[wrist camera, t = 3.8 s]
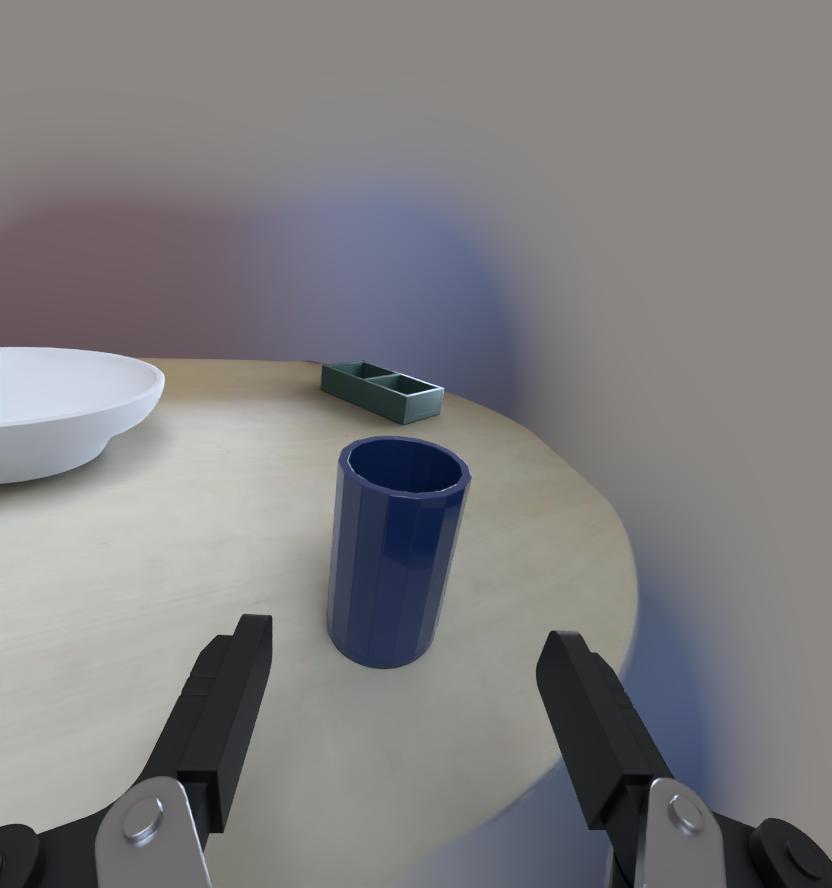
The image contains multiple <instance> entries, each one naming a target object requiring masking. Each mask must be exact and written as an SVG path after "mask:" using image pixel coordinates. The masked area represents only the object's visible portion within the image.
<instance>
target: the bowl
mask: <svg viewBox="0 0 832 888" xmlns="http://www.w3.org/2000/svg"><path fill="white" fill-rule="evenodd" d="M164 381H165V379H164V374H163V373H162V372H161V371H160V370H159V369H158V368H156V367H155V366H153V365H151V364H149V363H146V362H143V361H140V360H137V359H134V358H130V357H125V356H121V355H116V354H109V353H102V352H96V351H86V350H76V349H60V348H38V347H0V484H3V483H12V482H21V481H27V480H33V479H38V478H43V477H47V476H51V475H55V474H59V473H62V472H65V471H68V470H71V469H74V468H76V467H79V466H81V465H83V464H85V463H87V462H89V461H91V460H93V459H94V458H95V457H97V456H98V455H99V454H100V453H101V452H102V450H103V449H104V448H105V446H106V445H107V443H108V441H109V440H110V438H111V437H113V436H116V435H118V434H121V433H123V432H125V431H127V430H129V429H130V428H132V427H134V426H136V425H137V424H139V423H140V422H141V421H143V420H144V419H145V418H146V417H147V416H148V414H149V413H150V412H151V411H152V409H153V408H154V407H155V405H156V404H157V402H158V400H159V399H160V396H161V394H162V391H163V388H164Z"/></svg>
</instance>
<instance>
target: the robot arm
mask: <svg viewBox="0 0 832 888" xmlns="http://www.w3.org/2000/svg"><path fill="white" fill-rule="evenodd" d="M271 662H272V616H271V615H255V614H243V615H242V616H241V618H240V620H239V622H238V625H237V627H236V629H235V632H234V634H233V636H231V635H217V636H216V637H215V638H214V639H213V640H212V641H211V642H210V643H209V644H208V645H207V646H206V647H205V648H204V649H203V650H202V651H201V652H200V654H199V656H198V658H197V660H196V663H195V665H194V667H193V669H192V671H191V673H190V677H189V678H188V679H187V681H186V683H185V685H184V687H183V689H182V693H181V695H180V696H179V698H178V700H177V702H176V704H175V706H174V708H173V710H172V712H171V714H170V716H169V718H168V720H167V722H166V724H165V727H164V729H163V731H162V733H161V735H160V737H159V739H158V741H157V743H156V745H155V747H154V749H153V751H152V753H151V755H150V757H149V760H148V762H147V764H146V766H145V767H144V769H143V771H142V773H141V774H140V776H139V777H138V778H137V780H136V781H135V782H134V783H133V785H132V786H131V787H130V788H129V789H128V790H127V791H126V792H125V793H124V794H123V795H122V796H121V797H119V798H118V799H117V800H116V801H115V802H113V803H112V804H110V805H109V806H107V807H106V808H104V809H102V810H100V811H99V812H97V813H95V814H92V815H90V816H88V817H85V818H82V819H79V820H76V821H74V822H71V823H68V824H65V825H62V826H59V827H57V828H54V829H51V830H48V831H45V832H42V833H40V834H37V835H36V833H35V832H34V830H33V829H32V828H30V827H28V826H26V825H23V824H10V825H5V826H1V827H0V888H212V885H211V882H210V878H209V874H208V871H207V867H206V864H205V860H204V856H203V852H204V849H205V846H206V843H207V839H208V836H209V833H224V829H225V826H226V822H227V819H228V815H229V812H230V808H231V805H232V802H233V798H234V795H235V791H236V788H237V784H238V781H239V777H240V774H241V770H242V767H243V763H244V760H245V757H246V753H247V750H248V746H249V743H250V739H251V736H252V732H253V729H254V725H255V722H256V719H257V715H258V712H259V708H260V705H261V701H262V698H263V694H264V691H265V687H266V684H267V681H268V677H269V673H270V668H271ZM536 680H537V685H538V689H539V692H540V695H541V697H542V700H543V703H544V706H545V709H546V711H547V714H548V717H549V720H550V722H551V725H552V728H553V731H554V734H555V736H556V739H557V742H558V745H559V748H560V750H561V753H562V756H563V759H564V762H565V764H566V767H567V770H568V773H569V775H570V778H571V781H572V784H573V787H574V789H575V792H576V795H577V798H578V800H579V803H580V806H581V809H582V812H583V815H584V817H585V820H586V823H587V826H588V828H589V830H606V831H607V834H608V836H609V839H610V841H611V844H610V847H609V849H608V855H607V862H606V868H605V875H604V883H603V888H832V861H831V860H830V859H829V858H828V856H827V855H826V854H825V853H824V852H823V850H822V849H821V848H820V847H819V846H818V845H817V844H816V843H815V842H814V841H813V840H812V839H811V838H810V837H808V836H807V835H806V834H805V833H803V832H802V831H801V830H799V829H798V828H796V827H795V826H793V825H791V824H790V823H787V822H786V821H783V820H780V819H775V818H768V819H766V820H764V821H763V822H762V823H761V824H760V825H759V826H758V827H757V828H753V827H751V826H749V825H746V824H743V823H741V822H738V821H735V820H733V819H730V818H728V817H725V816H723V815H720V814H717V813H715V812H713V811H711V810H710V809H709V807H708V806H707V805H706V803H705V802H704V801H703V800H702V799H701V798H700V797H699V796H698V795H697V794H696V793H695V792H694V791H693V790H692V789H690V788H689V787H687V786H686V785H685V784H683V783H681V782H679V781H677V780H676V779H675V778H674V777H673V775H672V774H671V772H670V771H669V768H668V767H667V765H666V763H665V761H664V760H663V758H662V756H661V754H660V753H659V751H658V749H657V747H656V745H655V744H654V742H653V740H652V739H651V736H650V735H649V733H648V731H647V729H646V727H645V726H644V724H643V722H642V721H641V719H640V717H639V715H638V713H637V712H636V710H635V709H633V704H632V703H631V701H630V699H629V697H628V696H627V694H626V693H625V692H624V688H623V686H622V685H621V683H620V681H619V679H618V678H617V676H616V674H615V672H614V670H613V669H612V668H611V667H610V666H609V665H608V664H607V663H606V662H605V661H604V659H603V658H602V657H601V656H600V655H599V654H598V653H593V652H590V650H589V649H588V647H587V645H586V643H585V641H584V639H583V637H582V636H581V635H580V634H579V633H578V632H571V631H551V632H550V633H549V635H548V637H547V640H546V643H545V645H544V648H543V650H542V653H541V655H540V658H539V660H538V663H537V667H536Z"/></svg>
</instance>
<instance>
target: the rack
mask: <svg viewBox="0 0 832 888" xmlns="http://www.w3.org/2000/svg"><path fill="white" fill-rule="evenodd" d="M321 390H323V391H325V392H327V393H330V394H332V395H334V396H337V397H339V398H341V399H344V400H346V401H348V402H351V403H353V404H355V405H358V406H360V407H362V408H365V409H367V410H369V411H372V412H374V413H376V414H379V415H381V416H383V417H386V418H388V419H390V420H393V421H395V422H397V423H400V424H402V425H405V424H408V423H411V422H415V421H418V420H421V419H424V418H427V417H430V416H434V415H437V414H440V410H441V405H442V399H443V394H444V388H442V387H439V386H436V385H433V384H430V383H427V382H424V381H421V380H418V379H415V378H412V377H409V376H406V375H404V374H400V373H397V372H395V371H392V370H389V369H386V368H383V367H380V366H377V365H374V364H371V363H368V362H365V361H356V362H346V363H337V364H327V365H322V380H321Z"/></svg>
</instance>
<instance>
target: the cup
mask: <svg viewBox="0 0 832 888" xmlns="http://www.w3.org/2000/svg"><path fill="white" fill-rule="evenodd" d="M471 478H472V476H471V473H470V470H469V466H468V464H467V463H466V462H464V461H463V460H462V459H461V458H460V457H459V456H458V455H457V454H456V453H454V452H452V451H450V450H448V449H446V448H444V447H442V446H440V445H437V444H434V443H430V442H427V441H424V440H420V439H416V438H408V437H400V436H375V437H370V438H366V439H361V440H357V441H354V442H353V443H351V444H350V445H348V446H347V447H345V448H343V449H342V452H341V454H340V457H339V459H338V469H337V482H336V496H335V510H334V523H333V537H332V551H331V564H330V578H329V592H328V605H327V625H328V631H329V634H330V637H331V638H332V640H333V642H334V644H335V645H336V646H337V648H338V649H339V650H340V651H341V652H342V653H343V654H344V655H346V656H347V657H348V658H350V659H351V660H353V661H355V662H357V663H359V664H362V665H365V666H369V667H374V668H395V667H399V666H403V665H406V664H408V663H410V662H412V661H414V660H416V659H417V658H418V657H420V656H421V655H422V654H423V653H424V652H425V651H426V650H427V649H428V647H429V646H430V644H431V642H432V640H433V638H434V635H435V630H436V628H437V625H438V621H439V617H440V613H441V608H442V604H443V600H444V595H445V591H446V587H447V582H448V578H449V574H450V569H451V565H452V561H453V556H454V552H455V548H456V543H457V539H458V535H459V530H460V526H461V521H462V517H463V513H464V508H465V504H466V500H467V495H468V491H469V487H470V482H471Z"/></svg>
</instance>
